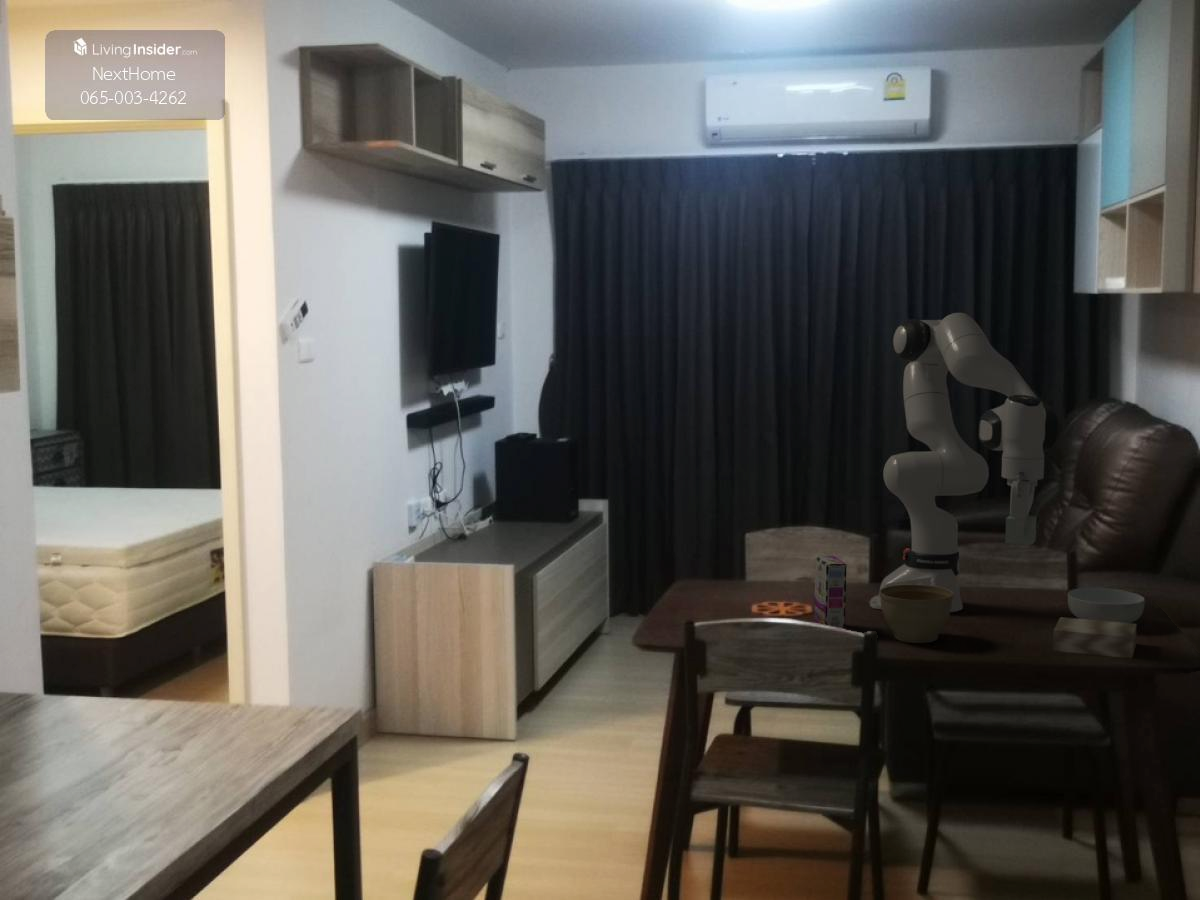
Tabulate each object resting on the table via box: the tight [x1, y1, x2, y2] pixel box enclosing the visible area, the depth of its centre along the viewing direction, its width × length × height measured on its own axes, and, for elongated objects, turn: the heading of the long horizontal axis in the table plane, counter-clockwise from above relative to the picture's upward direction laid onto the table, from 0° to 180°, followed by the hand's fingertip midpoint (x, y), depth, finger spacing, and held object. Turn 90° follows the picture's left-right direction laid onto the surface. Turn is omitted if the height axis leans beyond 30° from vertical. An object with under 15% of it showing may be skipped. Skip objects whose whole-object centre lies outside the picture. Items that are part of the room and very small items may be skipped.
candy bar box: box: [813, 555, 848, 629], centre depth 312 cm, size 11×5×16 cm, turn 5°
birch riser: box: [1052, 616, 1137, 660], centre depth 294 cm, size 16×13×5 cm
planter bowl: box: [879, 585, 953, 644], centre depth 302 cm, size 16×16×11 cm
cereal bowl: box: [1067, 587, 1146, 623], centre depth 314 cm, size 17×17×7 cm
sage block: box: [1004, 515, 1037, 546], centre depth 295 cm, size 6×6×6 cm
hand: (1020, 532), depth 295 cm, fingers closed on sage block, 6 cm apart
